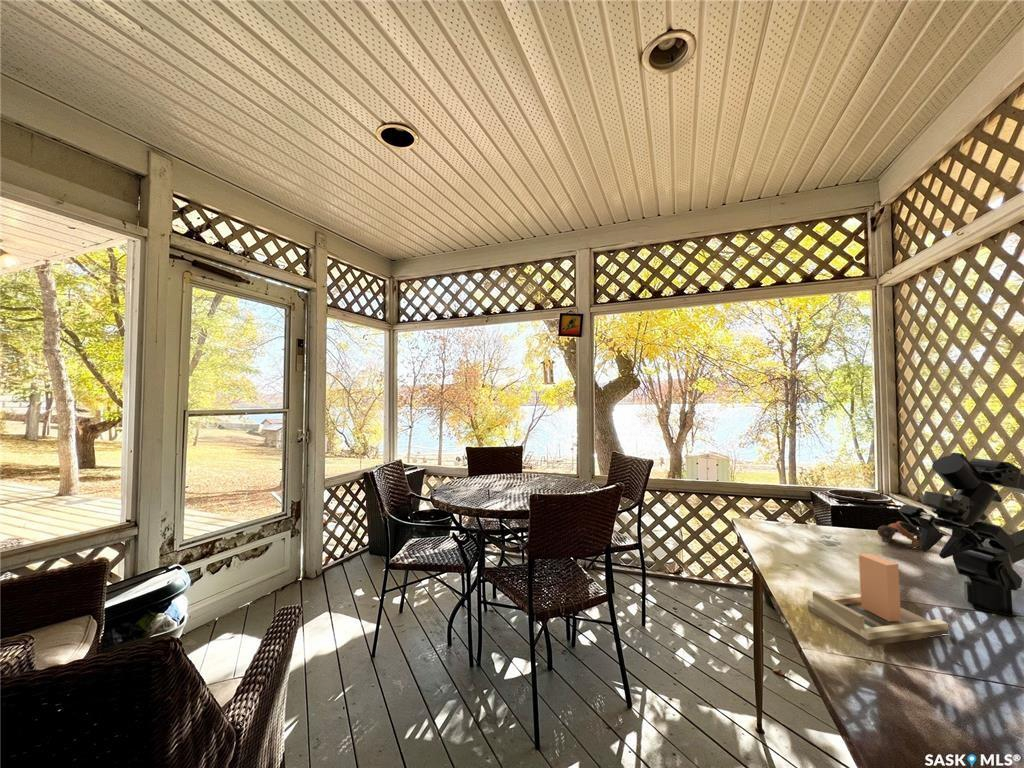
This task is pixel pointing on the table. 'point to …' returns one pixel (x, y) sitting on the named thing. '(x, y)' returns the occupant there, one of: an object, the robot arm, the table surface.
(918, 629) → the open-ended rail tray
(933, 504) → the robot arm
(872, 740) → the table surface
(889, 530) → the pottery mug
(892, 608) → the tall block
